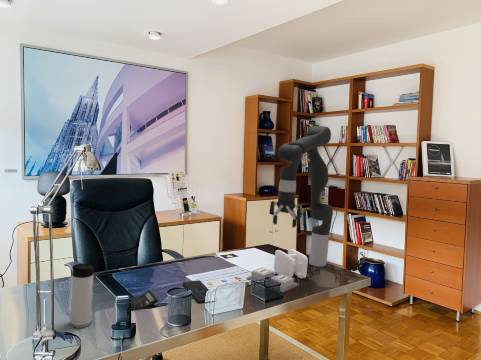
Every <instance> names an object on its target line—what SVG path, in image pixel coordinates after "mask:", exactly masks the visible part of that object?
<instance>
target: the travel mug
mask: <svg viewBox="0 0 481 360" xmlns="http://www.w3.org/2000/svg"><path fill="white" fill-rule="evenodd" d="M71 280H72V281H71V309H70V310H71V312H70V315H71V316H70V325H71V326H72V327H73V328H76V329H83V328H86V327H88V326H89V327H90V325H91V324H92V322H93V320H92V319H93V299H94V298H93V295H94V266H93V265H90V264H88V263H76V264H73V265H72V278H71Z"/></svg>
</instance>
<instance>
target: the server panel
mask: <svg viewBox="0 0 481 360" xmlns="http://www.w3.org/2000/svg"><path fill="white" fill-rule="evenodd" d="M266 277H271V279H273V280H276V281H278V282H279V283H281V285H280V291H281V292H282V294H284V293H286V292H288V291H290V290H293V289H294V288H296V287H298V286H299V285H300V284H299V283H297V282H295V277H292V278H291V277H288V276H286V275H283V274H280V275H278V274H277V275H275V270H271V269H268V268H264V267H260V268H256V269H254V270H252V271H251V275H250V276H248V277H246V280H247V279H248V280H247V281H250V280H251V281H250V282H253V281H256V280H260V279H264V278H266ZM281 292H280V293H281Z"/></svg>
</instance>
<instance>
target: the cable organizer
mask: <svg viewBox="0 0 481 360" xmlns="http://www.w3.org/2000/svg"><path fill="white" fill-rule="evenodd" d="M273 261H274V263H273V271H274V273H276V274H277V275H280V274H283V275H286V276H288V277H291V278H294V277H293V276H294V275H295V276H297V278H300V279H304V278H306V277H307V272H308V264H309V259H308V256H307V255H305V254H303V253H301V252H299V251H298V250H295V249H293V248H290V249H288V251H287V253H286V252H284V251H282V250H280V249H277V250H275V252H274V260H273Z"/></svg>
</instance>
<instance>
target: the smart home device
mask: <svg viewBox="0 0 481 360" xmlns="http://www.w3.org/2000/svg"><path fill="white" fill-rule="evenodd" d="M182 286H183V288H184V289H185V290H186V289H189V290H191V291H193V294H192V296H191V297H192V298H193V300H194V301H195V302H196V303H197V304H199V305H200V304H201V305H202V304H206V303H205V296H206V292H207V291H208V290H210V289H209V288H208V287H207V286H206V285H205V284H204V282H202V280H199V279H198V280H189V281H187V280H186V281H183V282H182Z"/></svg>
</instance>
